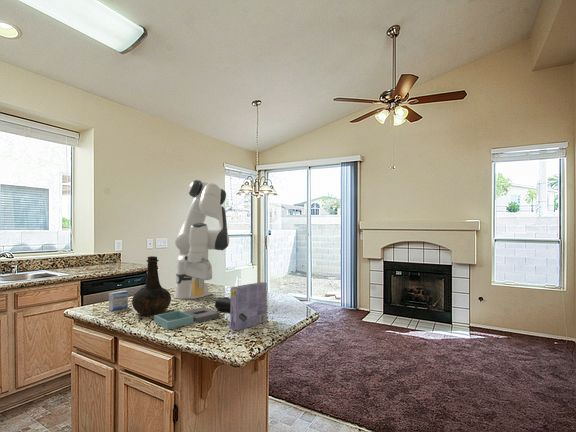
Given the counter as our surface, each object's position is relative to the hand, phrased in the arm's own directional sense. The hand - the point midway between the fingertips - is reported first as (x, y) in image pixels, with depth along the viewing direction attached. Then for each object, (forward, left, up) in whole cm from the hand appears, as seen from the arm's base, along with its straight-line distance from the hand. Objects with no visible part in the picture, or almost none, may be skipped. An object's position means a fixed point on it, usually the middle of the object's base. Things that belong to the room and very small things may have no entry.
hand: (197, 287), depth 147 cm
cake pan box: (-11, +26, -15) cm, 31 cm away
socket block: (-1, +1, -14) cm, 14 cm away
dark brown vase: (+12, -23, -15) cm, 30 cm away
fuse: (0, 0, -4) cm, 4 cm away
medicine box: (+21, -44, -15) cm, 51 cm away
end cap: (-16, +1, -15) cm, 22 cm away
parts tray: (+12, 0, -14) cm, 19 cm away
